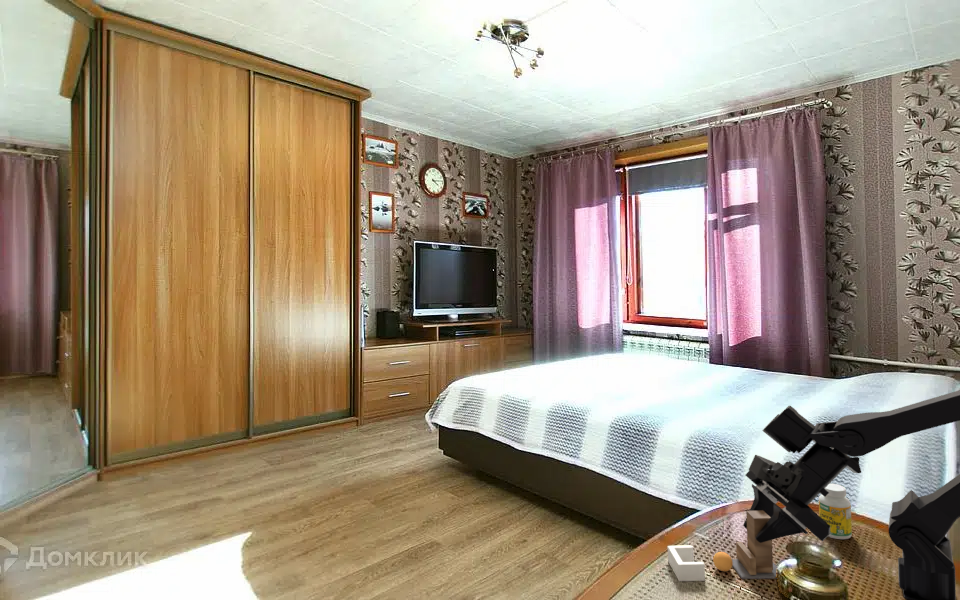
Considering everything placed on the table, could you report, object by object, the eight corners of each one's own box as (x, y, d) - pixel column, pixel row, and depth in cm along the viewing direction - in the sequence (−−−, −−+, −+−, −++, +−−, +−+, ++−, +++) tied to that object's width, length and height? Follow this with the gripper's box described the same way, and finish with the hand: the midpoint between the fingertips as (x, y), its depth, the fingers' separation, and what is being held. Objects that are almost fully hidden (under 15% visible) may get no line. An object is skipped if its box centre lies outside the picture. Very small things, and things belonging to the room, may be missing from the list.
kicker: (761, 557, 96) (759, 507, 95) (776, 574, 90) (775, 521, 90) (736, 557, 96) (734, 507, 96) (750, 574, 90) (748, 522, 90)
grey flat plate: (769, 560, 96) (769, 558, 96) (785, 578, 90) (785, 575, 90) (728, 561, 96) (728, 559, 96) (741, 578, 91) (741, 576, 91)
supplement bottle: (856, 534, 103) (855, 487, 103) (845, 543, 100) (844, 495, 100) (826, 524, 108) (824, 479, 107) (814, 532, 105) (813, 486, 104)
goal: (692, 560, 97) (691, 545, 97) (705, 580, 91) (704, 564, 90) (668, 561, 97) (667, 545, 97) (679, 581, 91) (678, 564, 91)
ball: (734, 568, 94) (733, 551, 94) (730, 577, 91) (730, 559, 91) (715, 563, 96) (715, 546, 96) (711, 571, 93) (711, 554, 93)
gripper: (754, 427, 101) (699, 483, 102) (809, 460, 83) (740, 529, 84) (796, 465, 101) (741, 521, 102) (861, 507, 82) (792, 575, 84)
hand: (751, 534), depth 93 cm, fingers open, 4 cm apart
